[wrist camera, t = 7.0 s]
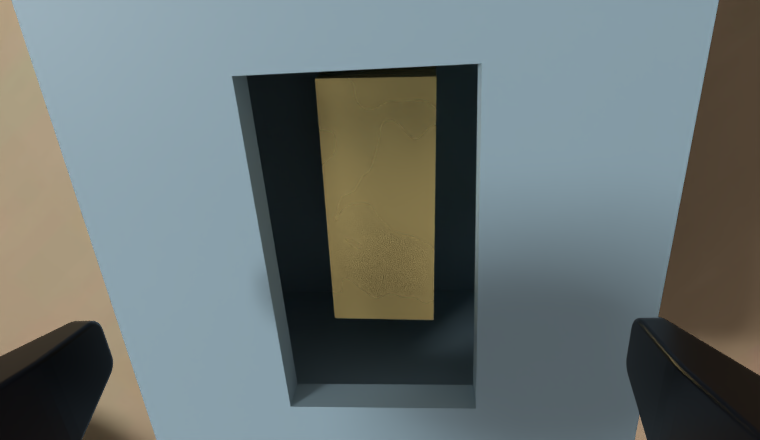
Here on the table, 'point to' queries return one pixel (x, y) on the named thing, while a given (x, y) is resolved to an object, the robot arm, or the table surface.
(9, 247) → the table surface
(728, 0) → the table surface
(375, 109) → the yellow rectangular block
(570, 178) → the tissue box
